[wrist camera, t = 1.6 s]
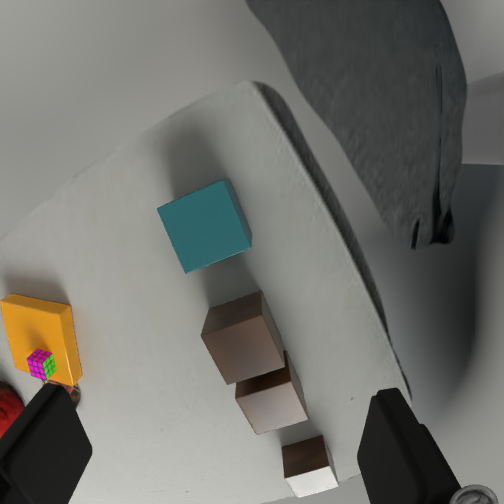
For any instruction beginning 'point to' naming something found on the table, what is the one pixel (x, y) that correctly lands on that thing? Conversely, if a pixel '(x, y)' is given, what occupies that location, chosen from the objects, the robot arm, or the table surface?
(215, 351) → the line block
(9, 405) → the red clay folk toy
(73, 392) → the red black flat square
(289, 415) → the line block
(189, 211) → the teal block
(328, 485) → the line block
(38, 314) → the wide flat orange box
